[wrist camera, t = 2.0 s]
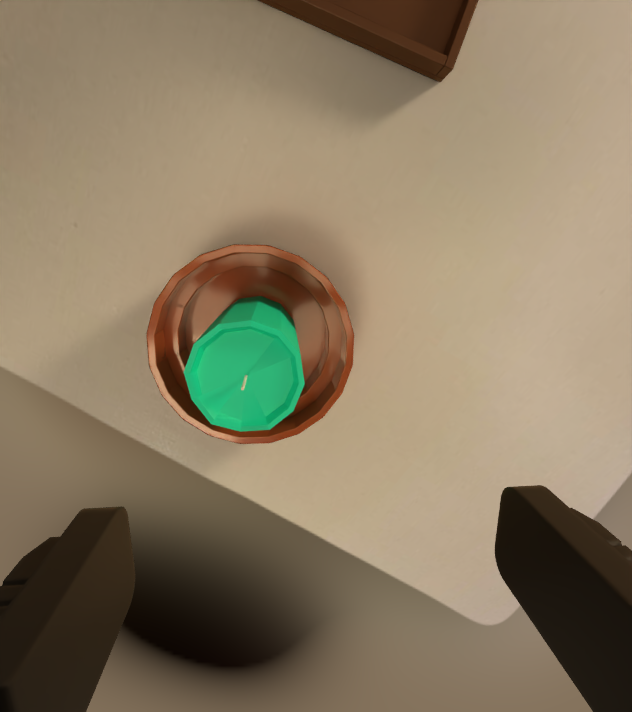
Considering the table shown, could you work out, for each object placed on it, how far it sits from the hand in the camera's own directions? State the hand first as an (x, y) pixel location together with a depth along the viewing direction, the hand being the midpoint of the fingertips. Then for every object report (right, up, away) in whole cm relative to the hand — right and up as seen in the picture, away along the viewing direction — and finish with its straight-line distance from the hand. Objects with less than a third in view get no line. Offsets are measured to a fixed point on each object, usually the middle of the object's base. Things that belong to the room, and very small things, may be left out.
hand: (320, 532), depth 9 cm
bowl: (-5, +5, +22) cm, 23 cm away
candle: (-5, +5, +22) cm, 23 cm away
